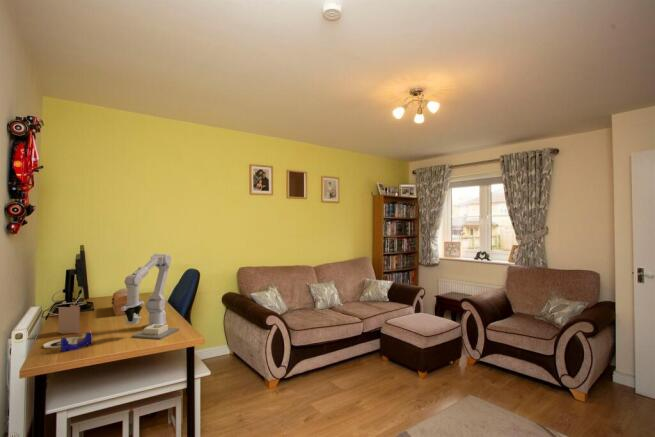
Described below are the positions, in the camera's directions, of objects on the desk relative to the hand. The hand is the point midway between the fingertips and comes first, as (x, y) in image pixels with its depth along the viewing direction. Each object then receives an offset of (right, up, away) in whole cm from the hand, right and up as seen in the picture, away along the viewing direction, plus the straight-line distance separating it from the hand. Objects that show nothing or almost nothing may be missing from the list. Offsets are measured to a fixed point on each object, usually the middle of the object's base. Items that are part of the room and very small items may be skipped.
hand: (132, 320), depth 185 cm
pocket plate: (+12, -8, +3) cm, 15 cm away
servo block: (0, -2, 0) cm, 2 cm away
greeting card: (-40, -9, +5) cm, 41 cm away
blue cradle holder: (-18, -9, -18) cm, 27 cm away
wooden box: (-39, -10, +55) cm, 68 cm away
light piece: (-28, -9, -11) cm, 31 cm away
